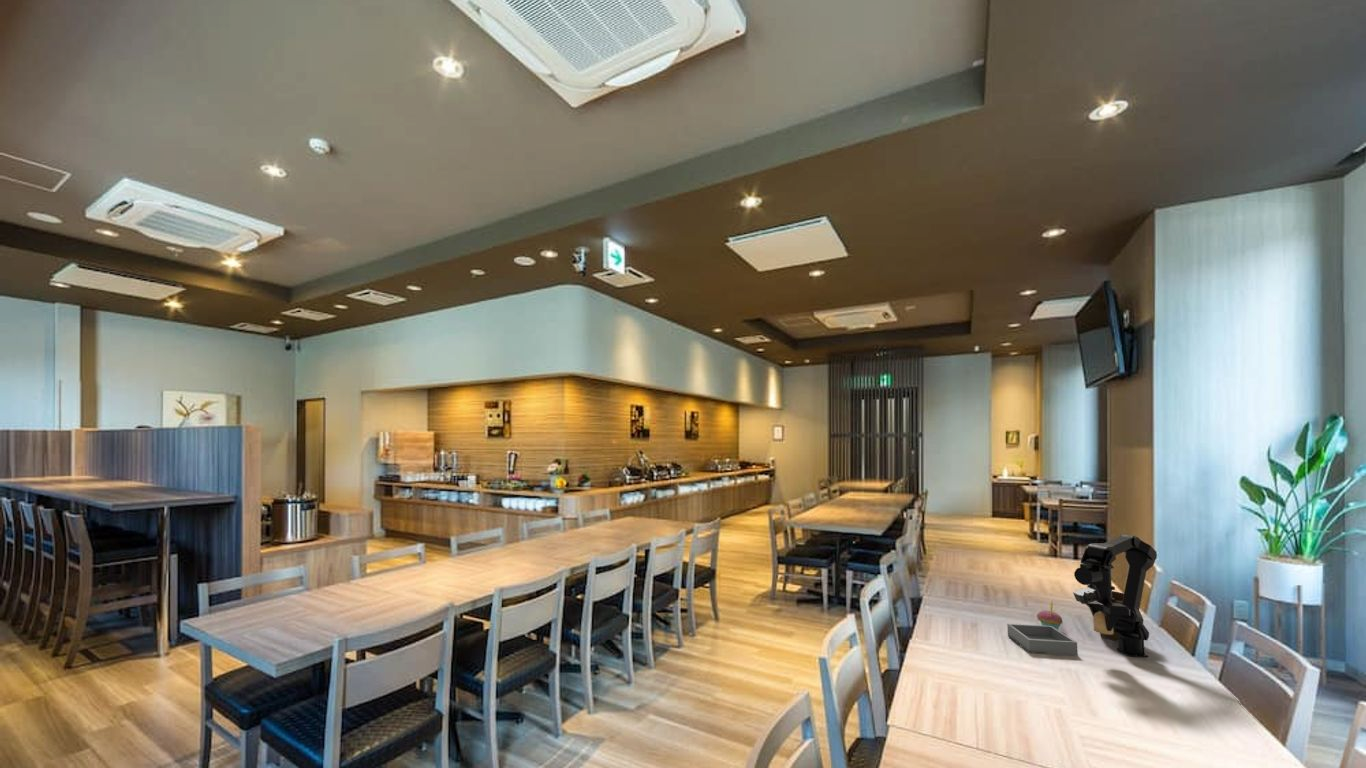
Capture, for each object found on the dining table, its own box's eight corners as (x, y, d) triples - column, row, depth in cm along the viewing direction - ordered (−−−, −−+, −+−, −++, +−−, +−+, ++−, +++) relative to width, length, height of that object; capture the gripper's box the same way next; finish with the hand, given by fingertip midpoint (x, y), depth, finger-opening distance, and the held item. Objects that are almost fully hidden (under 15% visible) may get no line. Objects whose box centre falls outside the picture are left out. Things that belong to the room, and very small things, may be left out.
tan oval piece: (1106, 629, 190) (1105, 609, 190) (1117, 634, 184) (1116, 614, 185) (1090, 628, 190) (1089, 608, 191) (1100, 634, 185) (1099, 614, 185)
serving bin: (1052, 638, 206) (1051, 626, 207) (1077, 655, 190) (1077, 642, 191) (1007, 635, 208) (1007, 623, 208) (1029, 652, 192) (1029, 639, 193)
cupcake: (1068, 634, 210) (1066, 602, 211) (1046, 633, 211) (1044, 602, 211) (1053, 626, 219) (1052, 596, 220) (1032, 625, 219) (1031, 595, 220)
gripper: (1060, 573, 199) (1062, 617, 197) (1094, 588, 180) (1096, 636, 179) (1093, 575, 198) (1095, 618, 196) (1130, 590, 179) (1132, 638, 178)
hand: (1103, 627), depth 187 cm, fingers closed on tan oval piece, 5 cm apart
